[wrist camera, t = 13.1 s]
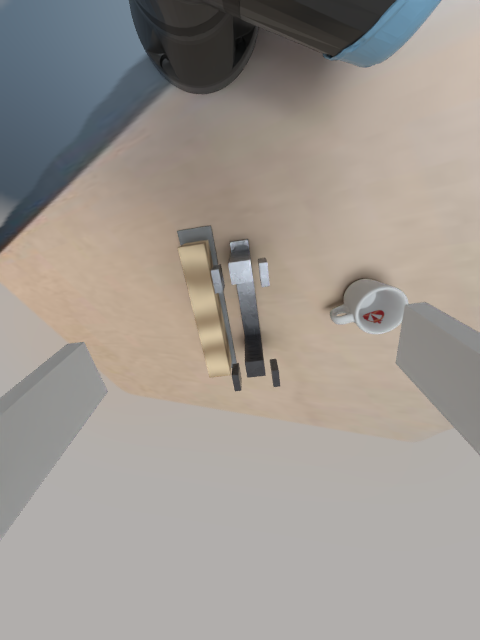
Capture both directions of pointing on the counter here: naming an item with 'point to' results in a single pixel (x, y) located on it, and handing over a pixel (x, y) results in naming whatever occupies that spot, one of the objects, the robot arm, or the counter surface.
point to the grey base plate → (206, 234)
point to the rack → (246, 309)
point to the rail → (206, 306)
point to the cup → (371, 306)
